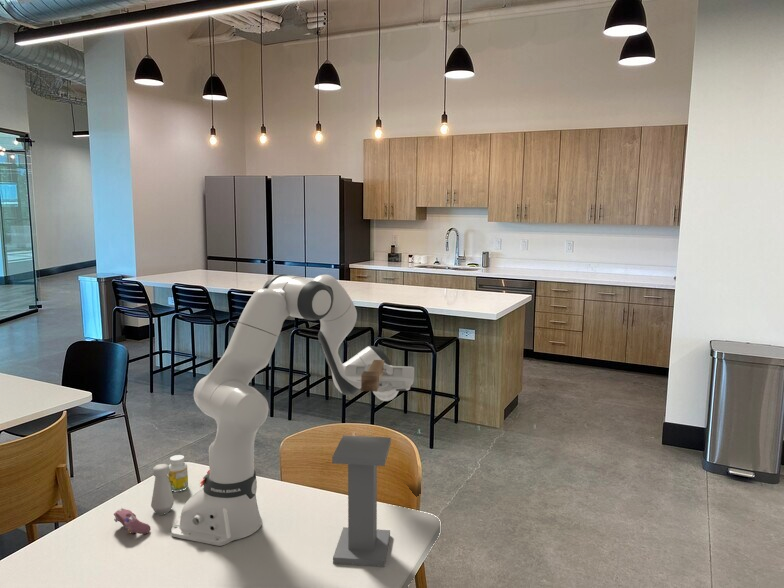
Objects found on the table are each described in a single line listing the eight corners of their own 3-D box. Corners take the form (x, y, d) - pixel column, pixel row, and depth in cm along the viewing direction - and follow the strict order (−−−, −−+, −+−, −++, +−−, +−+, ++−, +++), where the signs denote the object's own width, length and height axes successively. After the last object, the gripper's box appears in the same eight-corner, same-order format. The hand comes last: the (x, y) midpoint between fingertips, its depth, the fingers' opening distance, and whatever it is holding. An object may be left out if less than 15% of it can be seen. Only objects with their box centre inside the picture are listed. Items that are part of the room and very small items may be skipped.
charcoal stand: (333, 563, 132) (332, 457, 128) (343, 532, 145) (343, 435, 141) (384, 566, 131) (384, 459, 127) (390, 535, 144) (390, 437, 140)
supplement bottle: (190, 489, 167) (189, 458, 166) (171, 494, 164) (170, 463, 163) (185, 482, 172) (183, 452, 170) (166, 487, 168) (165, 456, 167)
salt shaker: (166, 517, 151) (163, 471, 150) (147, 515, 153) (144, 469, 151) (178, 506, 157) (176, 462, 155) (160, 504, 158) (157, 460, 157)
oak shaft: (361, 390, 143) (361, 375, 143) (372, 369, 163) (372, 356, 163) (376, 391, 143) (377, 376, 142) (385, 370, 163) (385, 356, 162)
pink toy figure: (120, 530, 148) (106, 512, 145) (136, 516, 151) (122, 498, 148) (138, 544, 142) (123, 526, 139) (153, 530, 145) (139, 511, 141)
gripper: (349, 367, 174) (341, 354, 161) (415, 369, 172) (413, 357, 159) (347, 387, 172) (339, 376, 159) (415, 390, 170) (412, 379, 157)
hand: (377, 366), depth 159 cm, fingers closed on oak shaft, 3 cm apart
